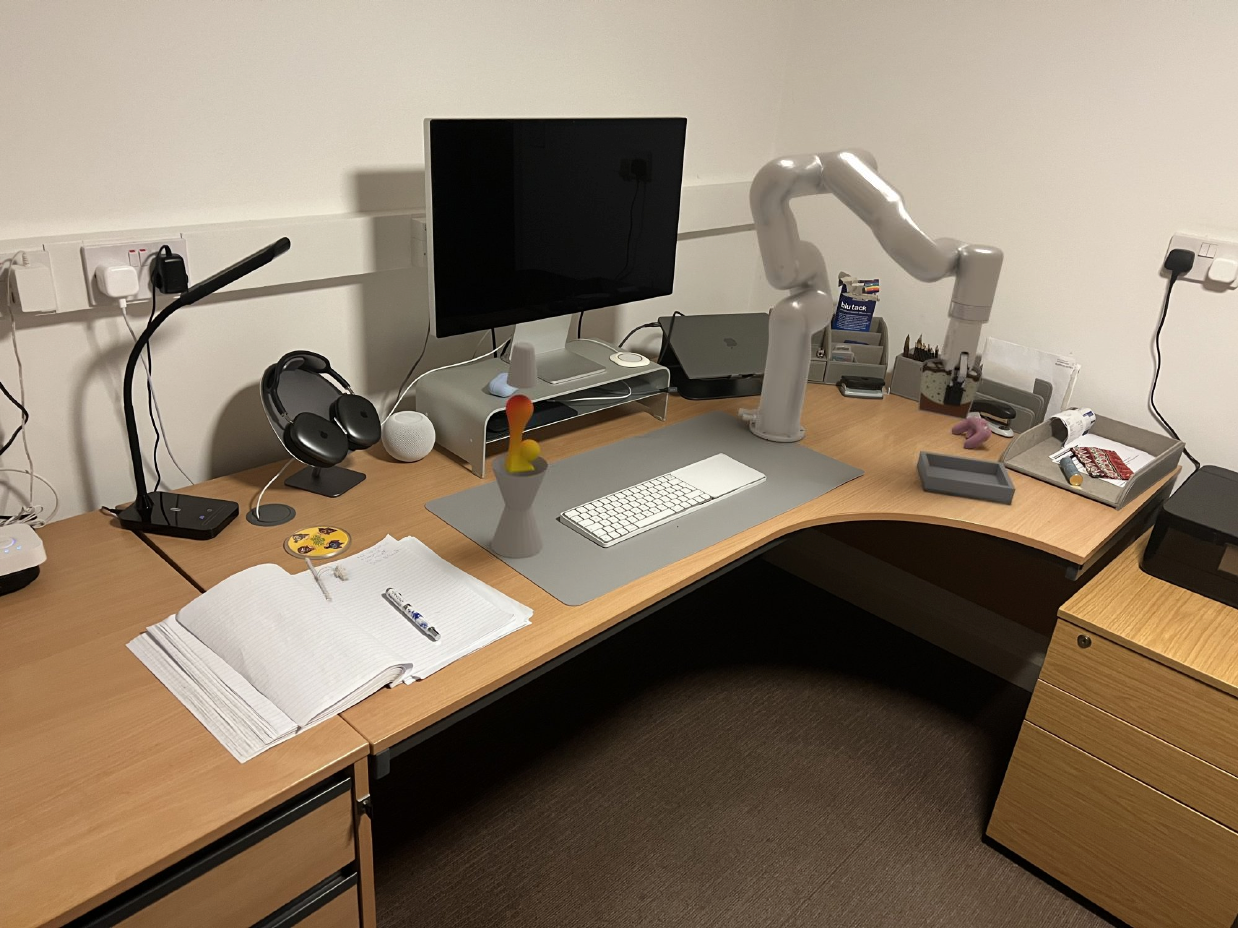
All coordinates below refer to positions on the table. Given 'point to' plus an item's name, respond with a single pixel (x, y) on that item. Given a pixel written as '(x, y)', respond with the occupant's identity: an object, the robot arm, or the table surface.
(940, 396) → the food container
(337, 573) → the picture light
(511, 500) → the lava lamp
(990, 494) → the desk holder
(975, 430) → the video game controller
